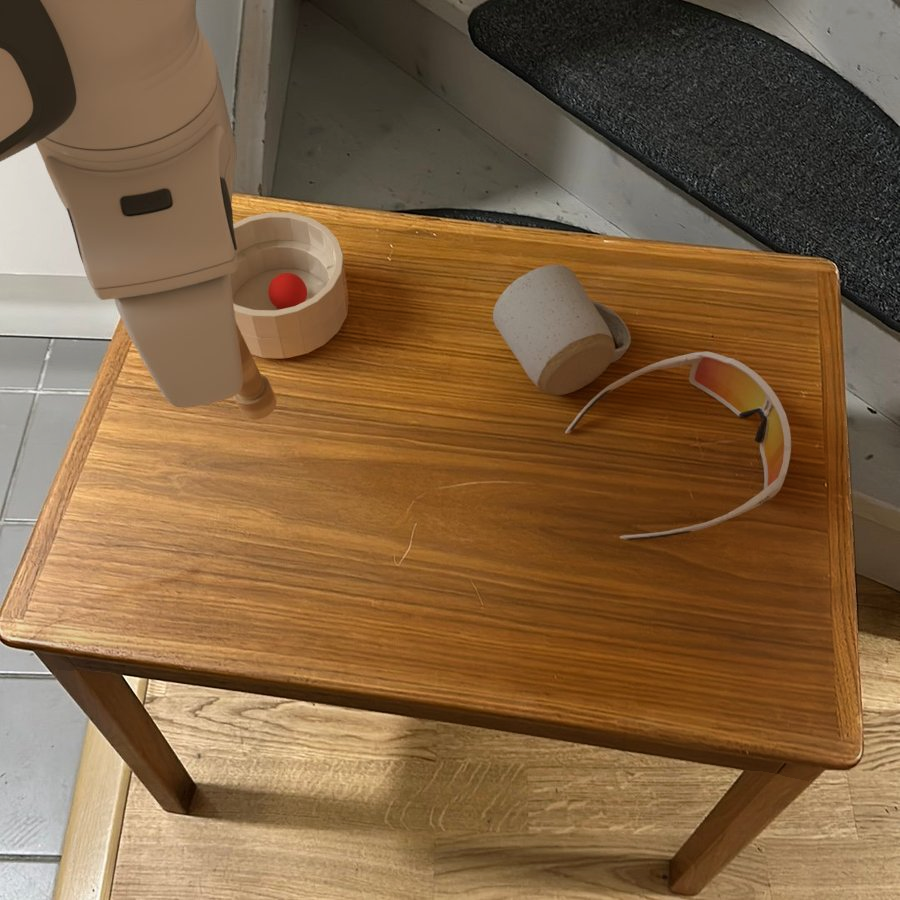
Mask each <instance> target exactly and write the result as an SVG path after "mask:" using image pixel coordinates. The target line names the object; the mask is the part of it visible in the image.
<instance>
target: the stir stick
mask: <svg viewBox="0 0 900 900" xmlns="http://www.w3.org/2000/svg"><path fill="white" fill-rule="evenodd" d="M236 326H237V333H238V340H239V348H240V355H241V363H242V372H243V385H242V388H241V390H240V392H239V393H238V394H237V395H235V396H233V397H232V398H233V400H234V402H235V403H236V405H237V407H238V409H239V411H240V413H241V414H242V416H244V417H245V418H247V419H249V420H262V419H264V418H266V417H268V416H270V415H271V414H272V413H273V412H274V410H275V409H276V406H277V396H276V394H275V392H274V390H273V388H272V385H271V383H270V381H269V379H268V378H267V377H266V376H265V375H264V374H262V373H261V372H260V370H259V367H258V365H257V364H256V361H255V360H254V357H253V355H252V354H251V353H250V351H249V349H248V346H247V344H246V342H245V340H244V338H243V336H242V334H241V331H240V329H239V327H238V325H237V323H236Z"/></svg>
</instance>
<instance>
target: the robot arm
mask: <svg viewBox="0 0 900 900" xmlns="http://www.w3.org/2000/svg"><path fill="white" fill-rule="evenodd" d="M196 12H197V0H0V163H1V162H2V161H5V160H7V159H8V158H11V157H13V156H14V155H17V154H18V153H21V152H22V151H24V150H26V149H28V148H30V147H31V146H33V145H34V144H35V145H36V147H37V149H38V151H39V154H40V156H41V159H42V161H43V163H44V165H45V169H46V171H47V174H48V175H49V178H50V181H51V183H52V185H53V187H54V189H55V191H56V193H57V195H58V198H59V200H60V201H61V203H62V205H63V206H64V208H65V210H66V212H67V214H68V217H69V220H70V224H71V227H72V230H73V234H74V237H75V242H76V246H77V249H78V254H79V257H80V260H81V262H82V265H83V268H84V273H85V275H86V277H87V280H88V283H89V284H90V286H91V289H92V290H93V292H94V295H96V297H97V298H98V299H99V300H101V301H107V300H114V303H115V307H116V309H117V312H118V314H119V316H120V319H121V321H122V324H123V325H124V328H125V330H126V332H127V335H128V336H129V339H130V340H131V342H132V344H133V345H134V348H135V349H136V351H137V353H138V355H139V356H140V359H141V360H142V362H143V364H144V365H145V367H146V369H147V371H148V372H149V375H150V377H151V378H152V379H153V381H154V383H155V384H156V386H157V388H158V390H159V392H160V393H161V395H162V396H163V397H164V399H165V401H167V403H169V405H171V406H173V407H174V408H179V409H180V408H181V409H188V408H189V409H190V408H196V407H201V406H207V405H211V404H215V403H219V402H222V401H225V400H228V399H230V398H233V396H235V395H237V394H238V393H239V392H240V390H241V388H242V385H243V372H242V363H241V355H240V348H239V340H238V333H237V326H236V319H235V312H234V304H233V297H232V289H231V281H230V274H231V273H234V272H236V271H237V269H238V260H237V255H236V251H235V250H237V245H236V240H235V233H234V227H233V224H234V215H233V206H232V202H233V193H234V184H235V183H234V182H235V170H236V166H237V159H238V151H237V145H236V141H235V137H234V133H233V127H232V124H231V120H230V116H229V111H228V107H227V101H226V98H225V94H224V93H225V92H224V90H223V85H222V81H221V78H220V73H219V68H218V65H217V61H216V58H215V54H214V52H213V50H212V48H211V46H210V45H209V42H208V40H207V39H206V38H205V36H204V34H203V33H202V31H201V28H200V26H199V23H198V18H197V13H196Z"/></svg>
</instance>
